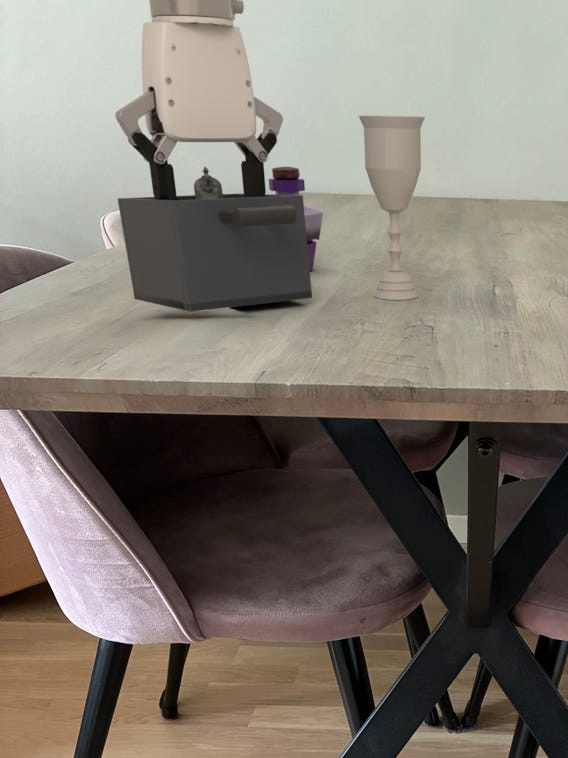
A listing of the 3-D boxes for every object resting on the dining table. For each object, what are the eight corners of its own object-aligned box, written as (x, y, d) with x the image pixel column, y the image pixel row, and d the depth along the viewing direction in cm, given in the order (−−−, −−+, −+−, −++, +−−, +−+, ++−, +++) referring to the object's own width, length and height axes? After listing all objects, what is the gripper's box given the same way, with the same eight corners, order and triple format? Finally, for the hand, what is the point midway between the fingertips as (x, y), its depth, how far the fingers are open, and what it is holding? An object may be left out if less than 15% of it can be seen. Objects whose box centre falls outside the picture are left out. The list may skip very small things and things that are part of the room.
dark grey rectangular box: (339, 302, 99) (330, 196, 94) (214, 317, 91) (198, 201, 86) (250, 287, 112) (239, 193, 107) (134, 299, 104) (117, 198, 99)
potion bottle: (329, 265, 128) (323, 165, 122) (323, 275, 120) (317, 169, 115) (264, 264, 128) (255, 164, 122) (254, 274, 120) (244, 168, 114)
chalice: (353, 294, 109) (344, 115, 100) (399, 288, 113) (395, 115, 104) (392, 303, 104) (387, 116, 96) (439, 297, 109) (439, 117, 100)
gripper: (254, 16, 97) (268, 199, 106) (85, 2, 88) (116, 206, 96) (291, 12, 93) (304, 205, 101) (117, -2, 83) (147, 212, 91)
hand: (212, 205), depth 98 cm, fingers open, 9 cm apart
